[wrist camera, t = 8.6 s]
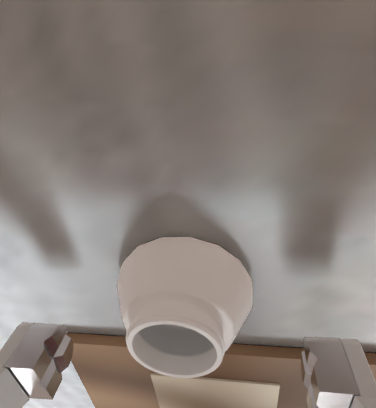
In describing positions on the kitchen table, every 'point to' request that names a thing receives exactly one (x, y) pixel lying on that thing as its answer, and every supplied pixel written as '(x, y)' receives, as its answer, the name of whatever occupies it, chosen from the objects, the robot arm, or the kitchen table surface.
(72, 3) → the kitchen table surface
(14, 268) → the kitchen table surface
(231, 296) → the lidless jar
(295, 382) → the brown flat block
